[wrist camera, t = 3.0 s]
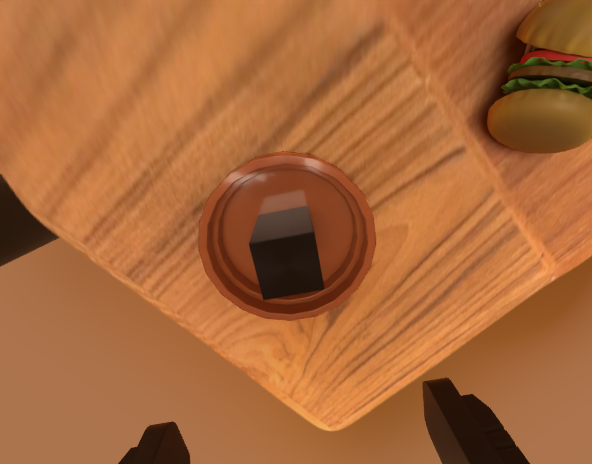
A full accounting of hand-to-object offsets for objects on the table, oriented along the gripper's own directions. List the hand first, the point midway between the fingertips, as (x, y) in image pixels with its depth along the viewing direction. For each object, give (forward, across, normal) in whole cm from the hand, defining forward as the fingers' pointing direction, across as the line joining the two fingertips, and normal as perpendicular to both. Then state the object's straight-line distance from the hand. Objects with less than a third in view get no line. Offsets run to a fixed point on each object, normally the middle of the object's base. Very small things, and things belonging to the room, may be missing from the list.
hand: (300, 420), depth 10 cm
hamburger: (+16, -18, -4) cm, 25 cm away
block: (+19, 0, 0) cm, 19 cm away
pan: (+19, 0, 0) cm, 19 cm away
